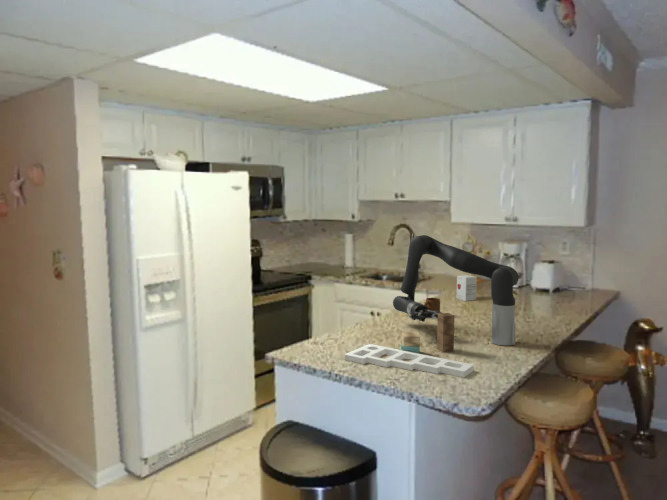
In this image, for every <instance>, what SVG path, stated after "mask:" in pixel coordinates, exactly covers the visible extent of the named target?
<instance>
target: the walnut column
mask: <svg viewBox="0 0 667 500" xmlns="http://www.w3.org/2000/svg"><path fill="white" fill-rule="evenodd" d="M455 318H456V317H455V315H454V314H452V313H450V312H444V313H443V312H442V313H438V319H437V334H436V335H437V336H436V343H437V344H436V349H437V350H438V351H440V352H441V353H449V352H450V353H451V352H454V351H455Z"/></svg>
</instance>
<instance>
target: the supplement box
mask: <svg viewBox="0 0 667 500" xmlns="http://www.w3.org/2000/svg"><path fill="white" fill-rule="evenodd" d="M477 283H478V278H477V276H474V275H470V274H466V275H465V274H464V275H457V276H456V300H460V301H463V302H468V301H469V302H470V301H476V300H477Z"/></svg>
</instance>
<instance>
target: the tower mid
mask: <svg viewBox="0 0 667 500" xmlns="http://www.w3.org/2000/svg"><path fill="white" fill-rule="evenodd" d="M402 343H403V346H420V347H421V336H420V334H419V332H418V331H416V332H415V331H410V332H409V331H404V332H403V331H402V332H401V344H402Z"/></svg>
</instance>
